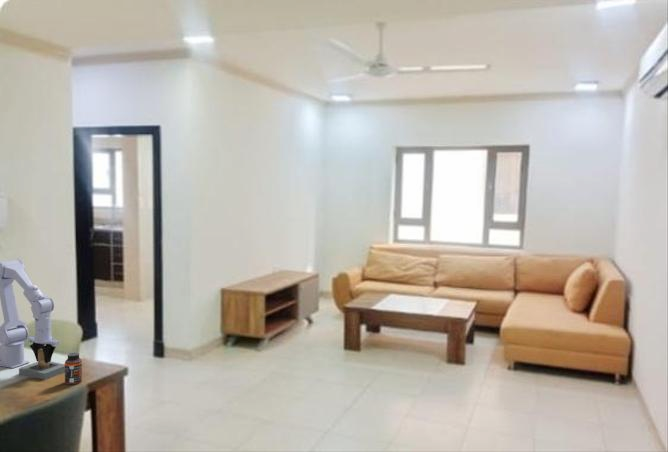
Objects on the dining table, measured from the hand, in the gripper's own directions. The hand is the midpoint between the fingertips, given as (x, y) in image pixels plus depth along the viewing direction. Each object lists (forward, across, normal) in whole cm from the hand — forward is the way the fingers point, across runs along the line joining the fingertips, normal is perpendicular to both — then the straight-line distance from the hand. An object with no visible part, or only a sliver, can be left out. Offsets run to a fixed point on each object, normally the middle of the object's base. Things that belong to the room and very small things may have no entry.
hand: (43, 361), depth 216 cm
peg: (+3, 0, 0) cm, 3 cm away
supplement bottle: (+5, -19, +3) cm, 20 cm away
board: (+5, 0, 0) cm, 5 cm away
